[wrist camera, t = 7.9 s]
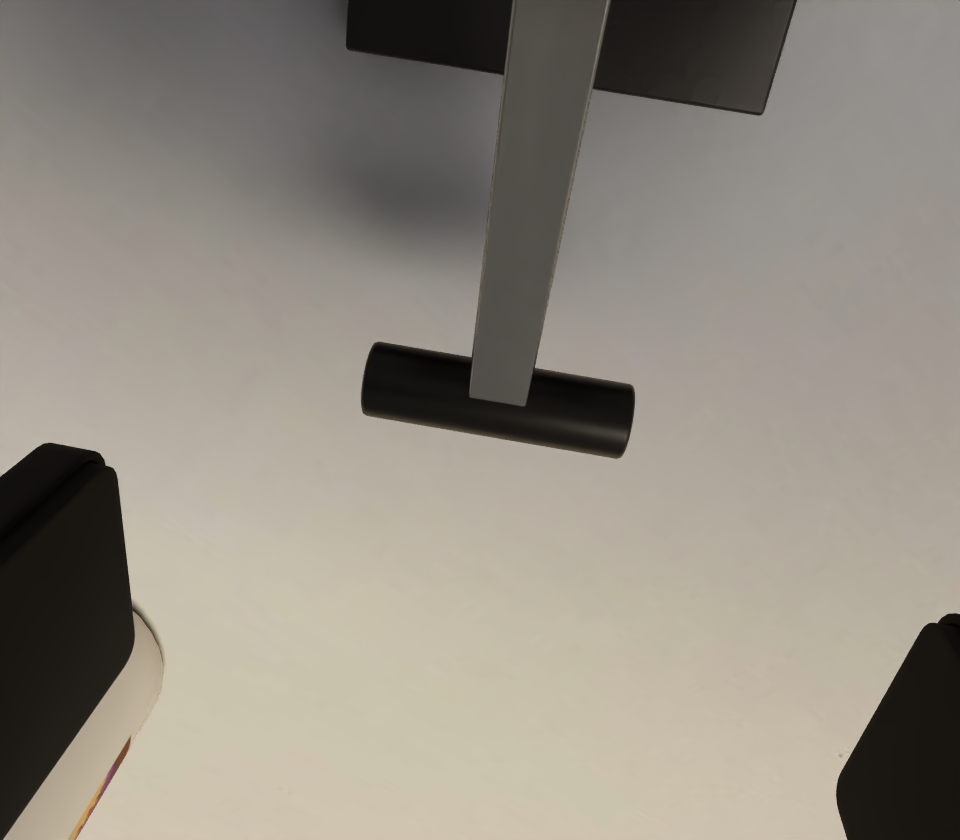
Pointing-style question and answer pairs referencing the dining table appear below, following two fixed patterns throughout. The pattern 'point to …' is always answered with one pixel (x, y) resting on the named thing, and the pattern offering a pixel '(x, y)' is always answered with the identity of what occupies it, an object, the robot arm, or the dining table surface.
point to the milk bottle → (95, 748)
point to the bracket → (625, 47)
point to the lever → (519, 262)
